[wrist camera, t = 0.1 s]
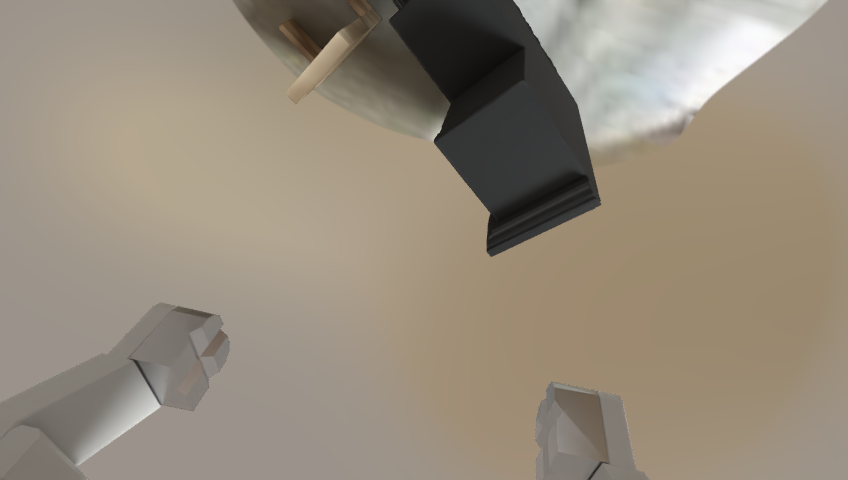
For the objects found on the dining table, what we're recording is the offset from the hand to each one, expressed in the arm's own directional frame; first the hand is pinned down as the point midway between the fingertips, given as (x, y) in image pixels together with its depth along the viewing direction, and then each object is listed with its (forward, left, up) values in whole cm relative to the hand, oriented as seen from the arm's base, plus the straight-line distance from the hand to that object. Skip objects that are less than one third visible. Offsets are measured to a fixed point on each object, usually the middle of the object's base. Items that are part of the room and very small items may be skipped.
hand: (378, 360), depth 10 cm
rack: (+3, -19, -48) cm, 52 cm away
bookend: (+5, 0, -48) cm, 49 cm away
